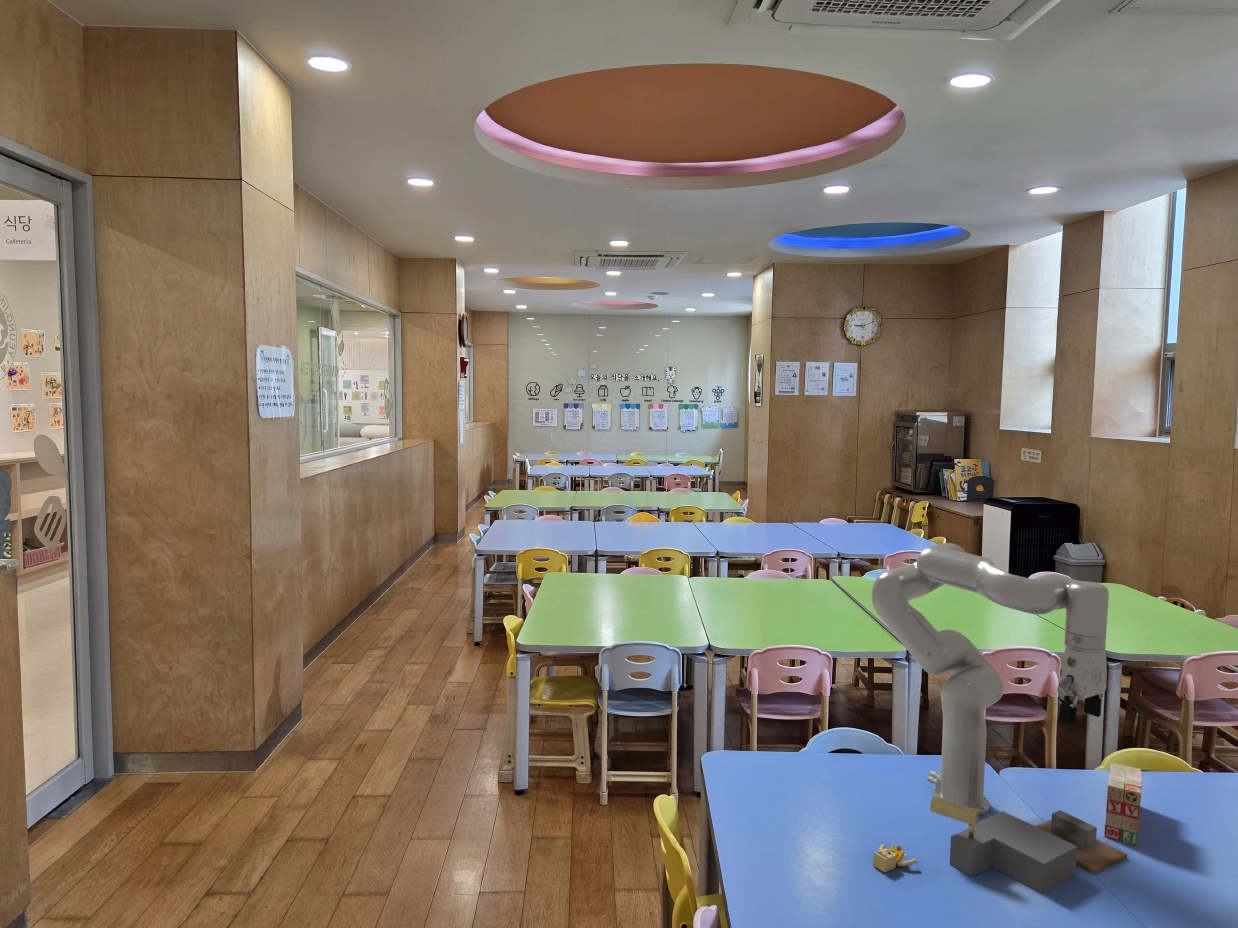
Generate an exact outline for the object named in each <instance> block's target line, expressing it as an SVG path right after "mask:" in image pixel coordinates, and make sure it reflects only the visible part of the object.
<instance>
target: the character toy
mask: <svg viewBox="0 0 1238 928" xmlns="http://www.w3.org/2000/svg"><path fill="white" fill-rule="evenodd" d="M878 848H879V849H878V850H877V851H874V853H873V863H872V866H874V867H875V868H877V869H878V870H880V871H881V872H883V873H887V872H889V871H892V870H893V869H896V867H897V866H899V867H905V866H906V867H907V866H911V865H914V864H917V863H918V859H917V858H913V859H908V860H903V859H905V858H906V857H908V854H907V853H904V851H903V848H902V847H901V846H900V845H898V846H897V845H895V846H894V844H891V845H890V847H889V848H886V845H885V844H883V843H882V844H880V846H879V847H878Z"/></svg>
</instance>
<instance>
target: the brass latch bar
mask: <svg viewBox="0 0 1238 928" xmlns="http://www.w3.org/2000/svg"><path fill="white" fill-rule="evenodd" d="M929 807H930V808H929V811H930V812H932V813H935V814H937V815H940V816H944V817H948V818H950V819H953V820H955V821H959V822H962V823H964V824H968V826H967V829H968V837H969V838H974V831H975V826H976V825H977V823H978V822H979V817H980V815H979V810H976V809H973V808H969V807H966V806H963V805H960V804H957V803H954V802H951V801H947V800H944V799H941V798H938V797H935V796H934V797H933V796H932V798H931V799H930V805H929Z"/></svg>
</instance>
